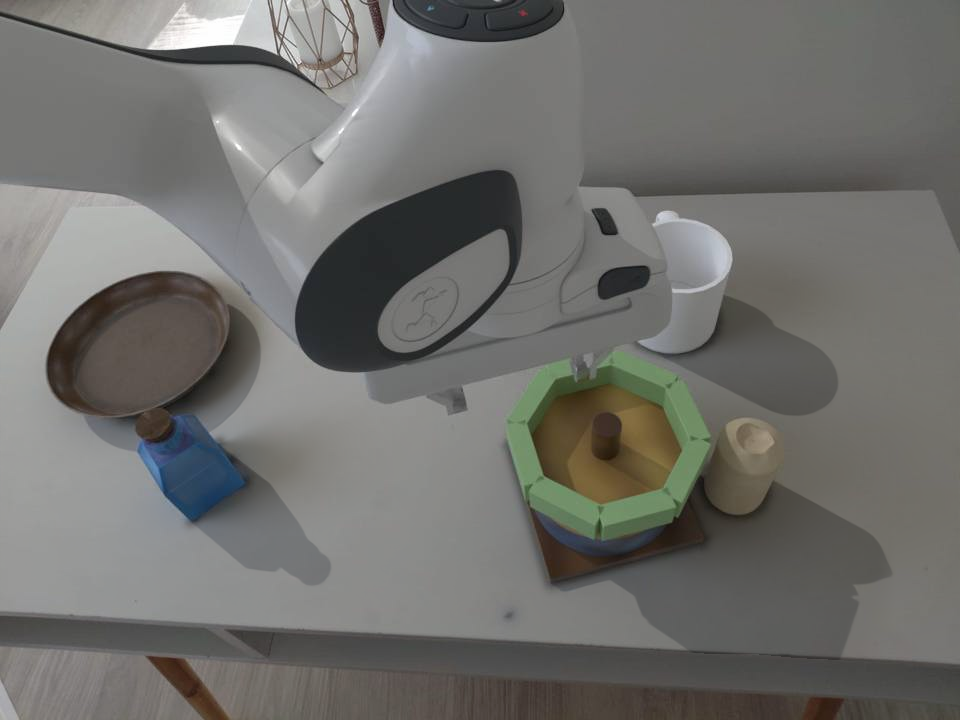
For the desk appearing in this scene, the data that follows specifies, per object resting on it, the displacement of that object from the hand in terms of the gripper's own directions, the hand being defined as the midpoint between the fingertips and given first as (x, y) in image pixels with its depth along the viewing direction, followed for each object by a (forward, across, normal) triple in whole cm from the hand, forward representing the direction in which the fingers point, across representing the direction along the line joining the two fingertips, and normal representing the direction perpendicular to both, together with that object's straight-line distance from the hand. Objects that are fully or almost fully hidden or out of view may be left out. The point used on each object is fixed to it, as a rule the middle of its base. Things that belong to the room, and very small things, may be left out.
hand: (519, 389), depth 54 cm
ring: (+11, +7, 0) cm, 13 cm away
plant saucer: (+22, -37, +30) cm, 53 cm away
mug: (+22, +21, +19) cm, 36 cm away
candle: (+22, +19, -3) cm, 29 cm away
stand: (+22, +7, 0) cm, 23 cm away
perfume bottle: (+22, -31, +12) cm, 40 cm away
